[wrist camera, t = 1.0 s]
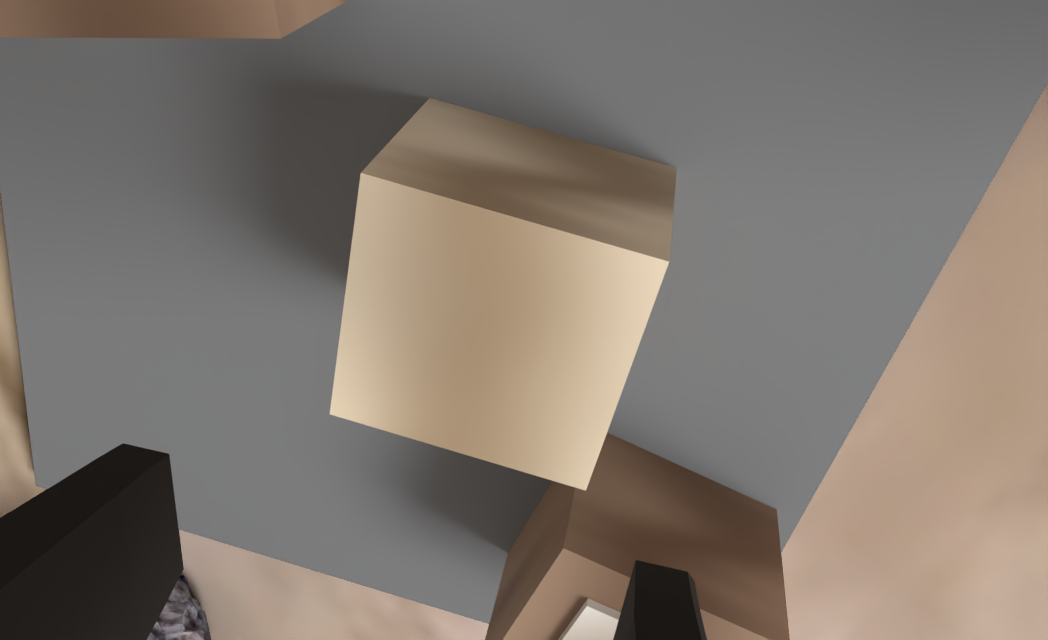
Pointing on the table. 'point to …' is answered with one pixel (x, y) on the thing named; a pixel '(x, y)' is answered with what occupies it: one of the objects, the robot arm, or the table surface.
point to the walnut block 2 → (641, 552)
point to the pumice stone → (181, 617)
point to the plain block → (500, 289)
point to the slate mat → (523, 97)
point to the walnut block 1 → (158, 18)
